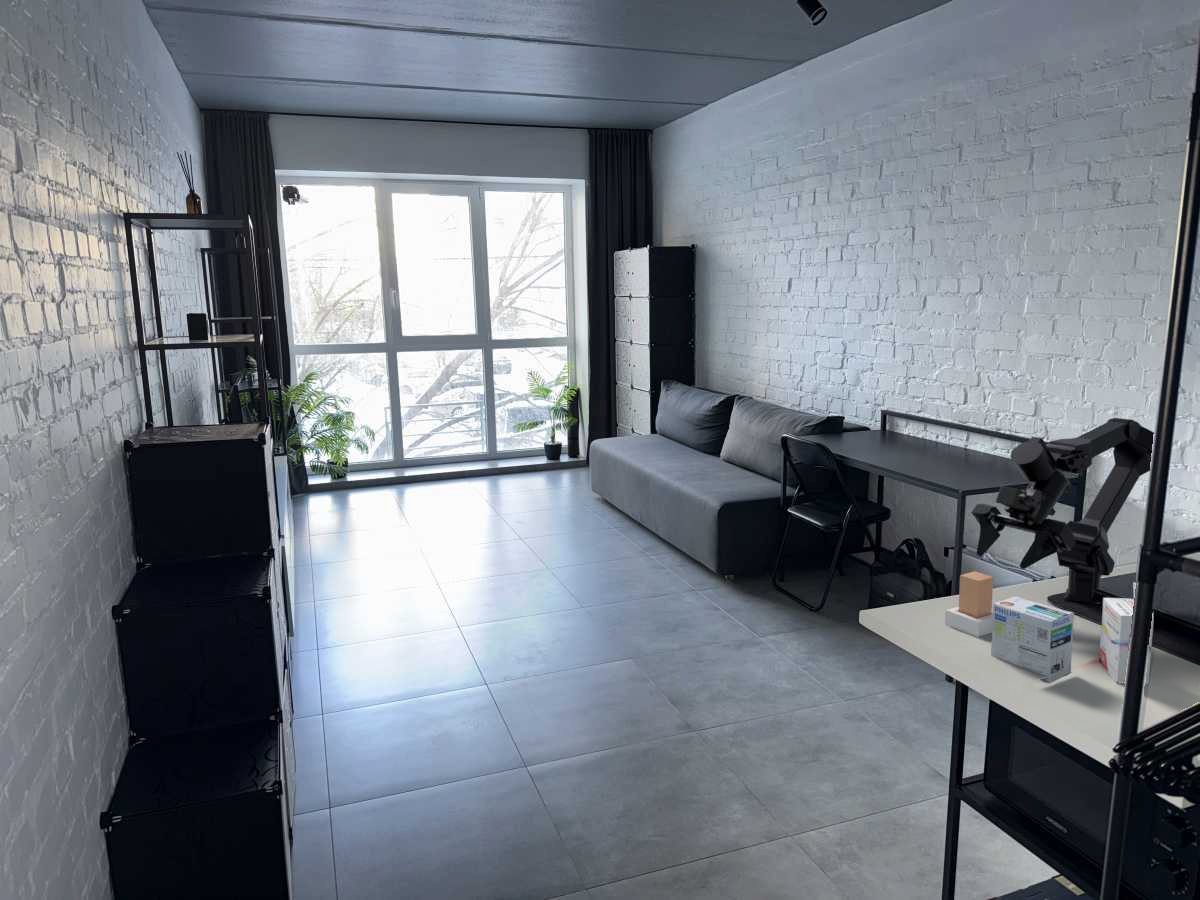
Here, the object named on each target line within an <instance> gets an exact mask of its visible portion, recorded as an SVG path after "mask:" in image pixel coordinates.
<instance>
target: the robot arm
mask: <svg viewBox="0 0 1200 900" xmlns="http://www.w3.org/2000/svg"><path fill="white" fill-rule="evenodd" d="M1154 433H1155V432H1154V431H1152V430H1150V429H1148V428H1146V427H1144V426H1143V425H1141V424H1140V423H1139V422H1138V421H1136V420H1134V419H1130V418H1129V419H1127V418H1121V417H1120V418H1119V417H1113V418H1109V419H1108V420H1107V422H1105V423H1103V424H1101V425H1099V426H1097V427H1096V428H1093V429H1091V430H1089V431H1086V432H1085V433H1083V434H1081V435H1079V436H1077V437H1074V438H1073V437H1072V438H1059V439H1055V440H1052V441H1049V442H1048V443H1046V442H1045V440H1044V439H1043V438H1042V437H1038V436H1037V437H1036V436H1031V438H1030V439H1029V440H1027V441H1023V442H1021V443H1019V444H1018V445H1016V446H1015V447H1014V448H1013V449H1012V450H1011V452H1010V460H1011V461H1012V462H1013V464H1014V466H1015V467H1016V468H1017V469H1018V471H1019V472H1020V474H1021V476H1022V477H1023V479H1025V480H1026V481H1028V482H1029V484H1028V485H1027V487H1026V488H1025V489H1018V488H1013V487H1007V486H1004V485H1003V486H1002V485H1001V486H1000V488H999V489H998V490H999V491H998V494H997V496H996V498H995V503H997V504H1001V505H1003V506H1005V507H1004V509H1003V510H1004V511H1005V512H1006V513H1008V514H1009V516H1008V515H1003V514H1002V513H1001V511H1000V510H999V509H998V507H997V506H995V505H990V504H987V503H986V504H985V503H982V502H981V503H977V504H976V505H975V506H974V508H973V509H972V511H971V513H970V514H972V516H973V518H975V520H976V522H977V523H978V524H979V527H980V528H979V529H980V531H979V538H978V544H977V548H976V555H977V557H979V558H981V557H982V556H983V555H985V554H986V552H987V551H988V550H989V549H990V548H991V547H992V546H993V545H994V543H995V542H996V541H997V540H998V539H999V538H1000V537H1001V534H1000V532H1002V531H1003V530H1004V529H1005V527H1007V528H1012V529H1016V530H1019V531H1024V532H1028V533H1033V534H1034V540H1033V542H1032V543H1031V545H1030V546H1029V548H1028V549H1027V551H1026V553H1025V554H1024V556H1023V558H1022V559H1021V561H1020V563H1019V567H1020V569H1021V570H1026V569H1027V568H1028V567H1030V566H1033V565H1034V564H1036V563H1037V562H1039V561H1041V560H1043V559H1045V558H1047V557H1050V556H1051V555H1054V554H1056V556H1057V561H1058V566H1059V567H1065V568H1068V569H1069V570H1068V583H1067V588H1066V590H1065V593H1064V597H1063V599H1064V600H1065V601H1070V600H1075V601H1074V602H1077V601H1083V602H1082V603H1084V602H1092V603H1098V602H1097V601H1096V598H1095V594H1094V590H1095V589H1097V588H1099V587H1100V588H1101V583H1102V576H1107V577H1108V576H1111V573H1113V571H1114V568H1115V563H1116V562H1115V561H1114V559H1113V558H1112V556H1111V554H1110V553H1109V552H1108V550H1109V549H1110V543H1109V542H1110V541H1109V537H1108V532H1109V530H1110V528H1111V526H1112V525H1113V523H1114V522H1115V520H1116V518H1117V516H1118V514H1119V513H1120V511H1121V509H1122V507H1123V506H1124V505H1125V503H1126V501H1127V499H1128V497H1129V495H1130V494H1131V492H1132V490H1133V488H1134V487H1135V485H1136V484H1137V481H1138V480H1139V478H1140V477H1141V476H1143V475H1145V474H1147V473H1148V472H1150V471H1151V470H1150V462H1151V453H1152V444H1153V434H1154ZM1112 448H1113V457H1114V465H1113V467H1112V469H1111V471H1110V472H1109V474H1108V475H1107V477H1106V478H1105V480H1104V483H1103V484H1102V486H1101V487H1100V489H1099V491H1098V493H1097V494H1096V496H1095V498H1094V500H1093V501H1092V503H1091V505H1090V506H1089V508H1088V510H1087V511H1086V513H1085V515H1084V517H1083V518H1082V519H1081V520H1080V521H1073V520H1069V522H1067V523H1066V521H1060V520H1056V519H1052V518H1048V516H1052V517H1053V516H1054V515H1055V514H1056V512H1057V511H1056V510H1055V509H1054V506H1056V504H1057V502H1058V501H1059V499H1060V497H1061V496H1062V494H1063V492H1064V493H1069V494H1071V493H1072V492H1073V491H1072V489H1073V488H1072V485H1071V482H1070V481H1071V479H1070V478H1068V477H1066V475H1065V474H1064V473H1068V474H1073V475H1079V474H1082V473H1084V471H1085V470H1087V469H1088V468H1089V467H1091V466H1092V465H1093V459H1094V458H1095V457H1096V456H1099V455H1101V454H1102V453H1105V452H1107V451H1108V450H1109V451H1110V449H1112Z"/></svg>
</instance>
